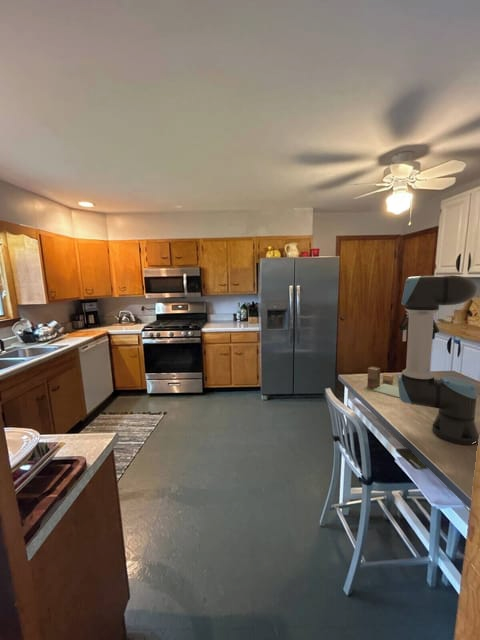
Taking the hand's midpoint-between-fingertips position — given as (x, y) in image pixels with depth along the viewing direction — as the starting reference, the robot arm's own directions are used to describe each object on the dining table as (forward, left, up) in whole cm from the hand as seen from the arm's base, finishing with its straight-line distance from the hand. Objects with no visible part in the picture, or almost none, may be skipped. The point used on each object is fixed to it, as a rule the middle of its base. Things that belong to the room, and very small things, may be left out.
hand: (416, 342), depth 160 cm
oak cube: (-1, +14, -27) cm, 31 cm away
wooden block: (-13, +17, -27) cm, 35 cm away
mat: (-13, +7, -27) cm, 31 cm away
